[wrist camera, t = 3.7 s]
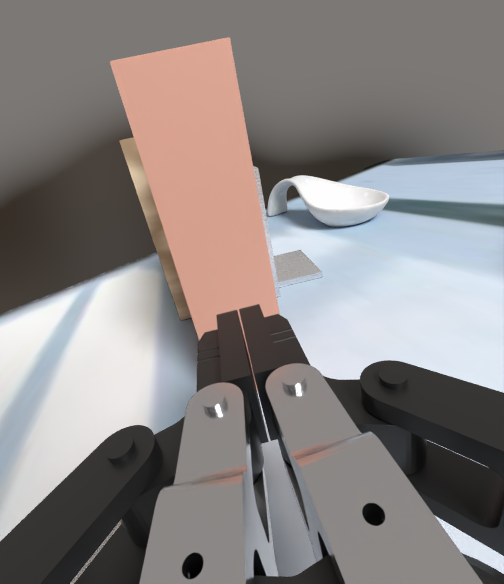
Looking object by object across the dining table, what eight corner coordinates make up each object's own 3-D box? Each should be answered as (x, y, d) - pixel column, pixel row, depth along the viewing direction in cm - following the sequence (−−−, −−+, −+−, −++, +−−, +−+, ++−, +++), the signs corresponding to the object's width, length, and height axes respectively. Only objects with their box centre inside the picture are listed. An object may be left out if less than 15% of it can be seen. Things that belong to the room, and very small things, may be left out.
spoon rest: (404, 213, 48) (405, 163, 45) (355, 238, 43) (351, 184, 40) (297, 207, 66) (292, 171, 63) (252, 224, 61) (245, 185, 58)
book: (218, 401, 20) (109, 61, 12) (212, 304, 33) (156, 105, 25) (292, 382, 20) (229, 37, 13) (257, 293, 33) (215, 93, 25)
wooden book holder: (180, 320, 31) (119, 140, 24) (186, 270, 43) (148, 143, 37) (280, 296, 31) (248, 113, 24) (257, 253, 44) (232, 125, 37)
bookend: (272, 298, 31) (248, 170, 26) (254, 259, 42) (235, 164, 37) (329, 284, 31) (316, 155, 26) (296, 249, 42) (283, 153, 37)
